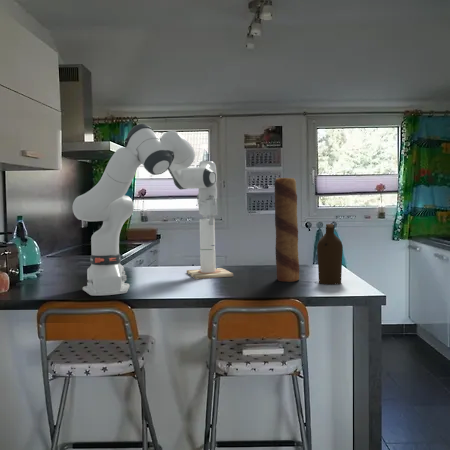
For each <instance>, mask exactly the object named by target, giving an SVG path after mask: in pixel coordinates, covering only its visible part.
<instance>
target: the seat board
mask: <svg viewBox="0 0 450 450" xmlns="http://www.w3.org/2000/svg"><path fill="white" fill-rule="evenodd" d="M215 268H216V267H215ZM187 273H188V275H189V274H190V275H191V276H190V275H189V276H190V277H191V278H193V277H194V278H193V279H195V280H200V279H201V280H202V279H203V278H204V279H215V278H217V279H218V278H231V277H234V272H230V271H229V270H227V269H225V268H222V267H219V268H218V267H217V268H216V271H215V272H211V273H204V272H201V268H200V269H199V268H198V269H188V270H187V269H186V274H187Z"/></svg>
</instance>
